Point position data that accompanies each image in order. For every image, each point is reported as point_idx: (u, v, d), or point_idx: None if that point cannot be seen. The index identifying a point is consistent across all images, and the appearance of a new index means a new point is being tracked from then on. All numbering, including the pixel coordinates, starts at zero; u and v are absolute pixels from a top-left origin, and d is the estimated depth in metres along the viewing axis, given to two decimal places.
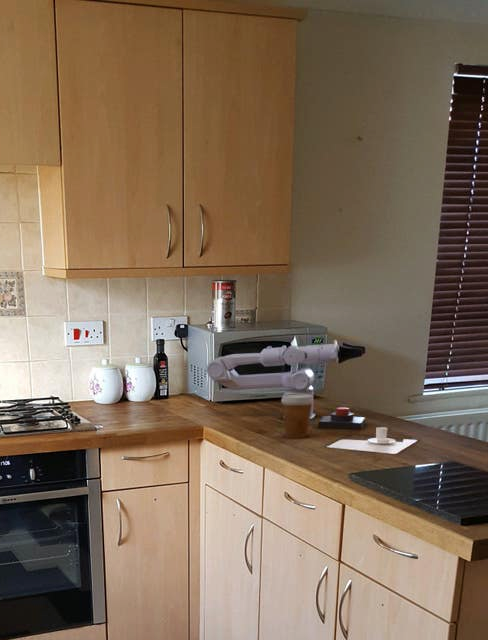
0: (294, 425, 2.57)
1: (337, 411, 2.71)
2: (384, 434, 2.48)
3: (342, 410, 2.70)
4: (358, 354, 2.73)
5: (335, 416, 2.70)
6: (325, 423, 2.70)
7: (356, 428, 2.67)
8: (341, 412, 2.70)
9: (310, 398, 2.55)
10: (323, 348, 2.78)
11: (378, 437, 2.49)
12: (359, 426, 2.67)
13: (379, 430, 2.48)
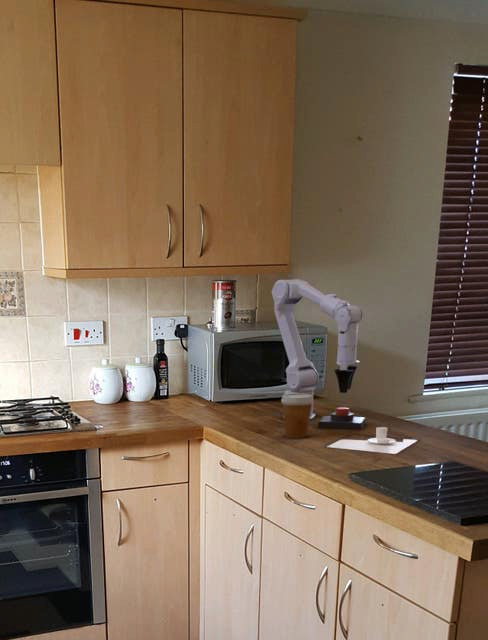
0: (294, 425, 2.57)
1: (337, 411, 2.71)
2: (384, 434, 2.48)
3: (342, 410, 2.70)
4: (341, 389, 2.70)
5: (335, 416, 2.70)
6: (325, 423, 2.70)
7: (356, 428, 2.67)
8: (341, 412, 2.70)
9: (310, 398, 2.55)
10: (352, 351, 2.67)
11: (378, 437, 2.49)
12: (359, 426, 2.67)
13: (379, 430, 2.48)
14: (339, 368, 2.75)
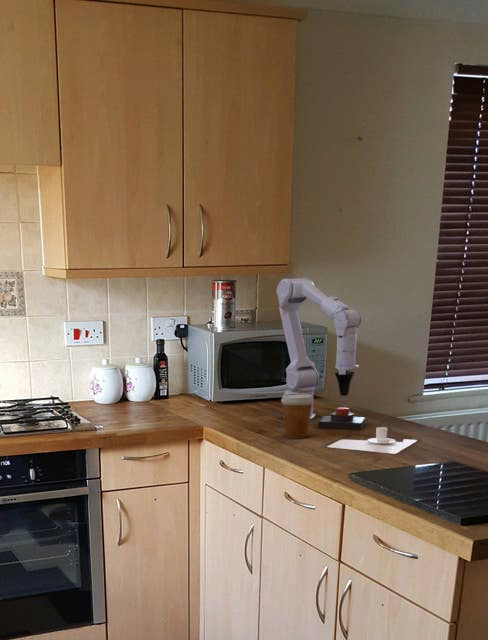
0: (294, 425, 2.57)
1: (337, 411, 2.71)
2: (384, 434, 2.48)
3: (342, 410, 2.70)
4: (342, 392, 2.71)
5: (335, 416, 2.70)
6: (325, 423, 2.70)
7: (356, 428, 2.67)
8: (341, 412, 2.70)
9: (310, 398, 2.55)
10: (351, 355, 2.65)
11: (378, 437, 2.49)
12: (359, 426, 2.67)
13: (379, 430, 2.48)
14: None
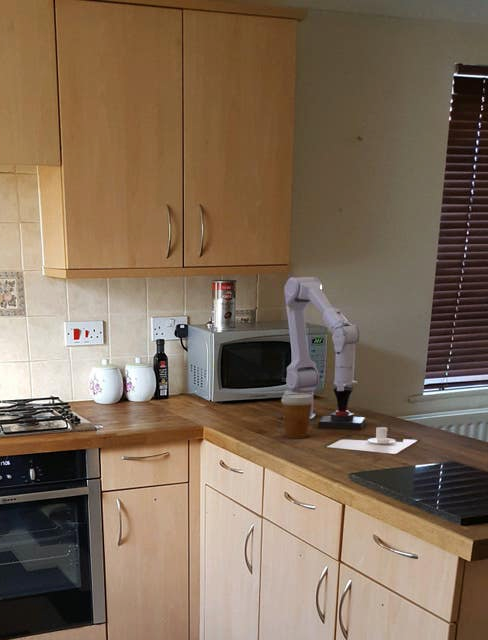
0: (294, 425, 2.57)
1: (337, 414, 2.71)
2: (384, 434, 2.48)
3: (342, 413, 2.70)
4: (340, 407, 2.71)
5: (335, 416, 2.70)
6: (325, 423, 2.70)
7: (356, 428, 2.67)
8: None
9: (310, 398, 2.55)
10: (349, 371, 2.65)
11: (378, 437, 2.49)
12: (359, 426, 2.67)
13: (379, 430, 2.48)
14: None
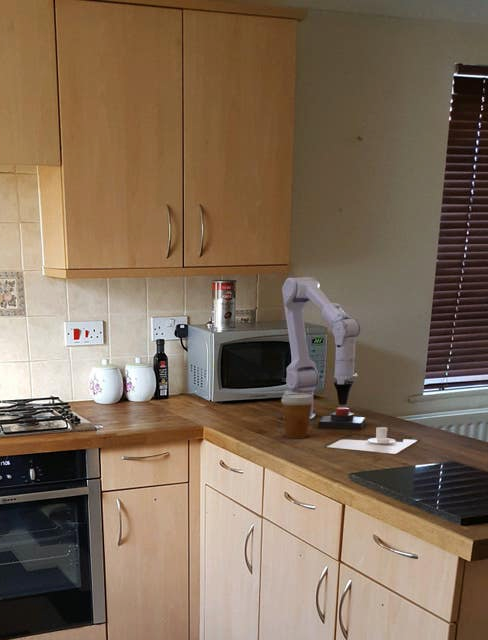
0: (294, 425, 2.57)
1: (337, 411, 2.71)
2: (384, 434, 2.48)
3: (342, 410, 2.70)
4: (340, 401, 2.70)
5: (335, 416, 2.70)
6: (325, 423, 2.70)
7: (356, 428, 2.67)
8: (341, 412, 2.70)
9: (310, 398, 2.55)
10: (349, 365, 2.65)
11: (378, 437, 2.49)
12: (359, 426, 2.67)
13: (379, 430, 2.48)
14: None
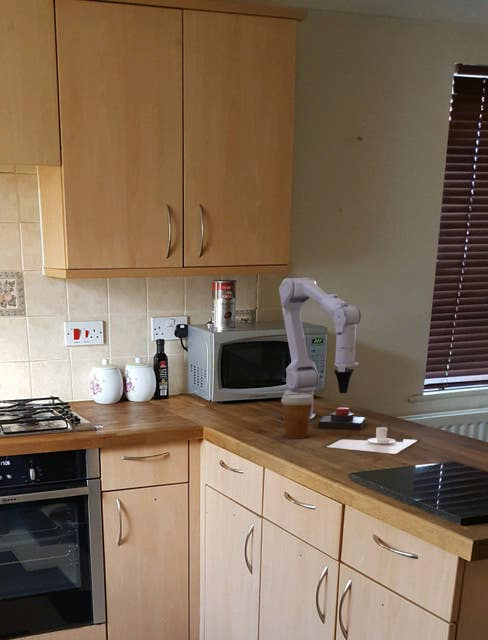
0: (294, 425, 2.57)
1: (337, 411, 2.71)
2: (384, 434, 2.48)
3: (342, 410, 2.70)
4: (341, 389, 2.69)
5: (335, 416, 2.70)
6: (325, 423, 2.70)
7: (356, 428, 2.67)
8: (341, 412, 2.70)
9: (310, 398, 2.55)
10: (350, 352, 2.63)
11: (378, 437, 2.49)
12: (359, 426, 2.67)
13: (379, 430, 2.48)
14: None
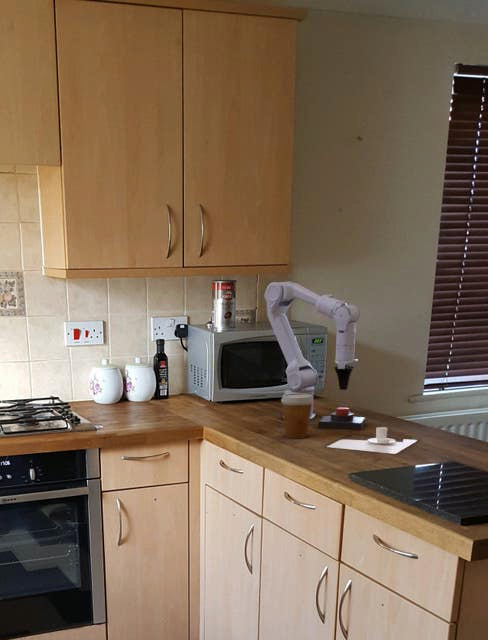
0: (294, 425, 2.57)
1: (337, 411, 2.71)
2: (384, 434, 2.48)
3: (342, 410, 2.70)
4: (341, 386, 2.76)
5: (335, 416, 2.70)
6: (325, 423, 2.70)
7: (356, 428, 2.67)
8: (341, 412, 2.70)
9: (310, 398, 2.55)
10: (350, 350, 2.70)
11: (378, 437, 2.49)
12: (359, 426, 2.67)
13: (379, 430, 2.48)
14: None
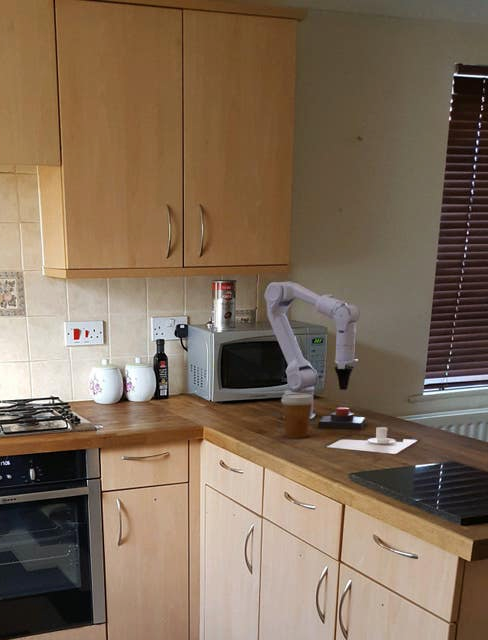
0: (294, 425, 2.57)
1: (337, 411, 2.71)
2: (384, 434, 2.48)
3: (342, 410, 2.70)
4: (341, 386, 2.76)
5: (335, 416, 2.70)
6: (325, 423, 2.70)
7: (356, 428, 2.67)
8: (341, 412, 2.70)
9: (310, 398, 2.55)
10: (350, 350, 2.70)
11: (378, 437, 2.49)
12: (359, 426, 2.67)
13: (379, 430, 2.48)
14: None
